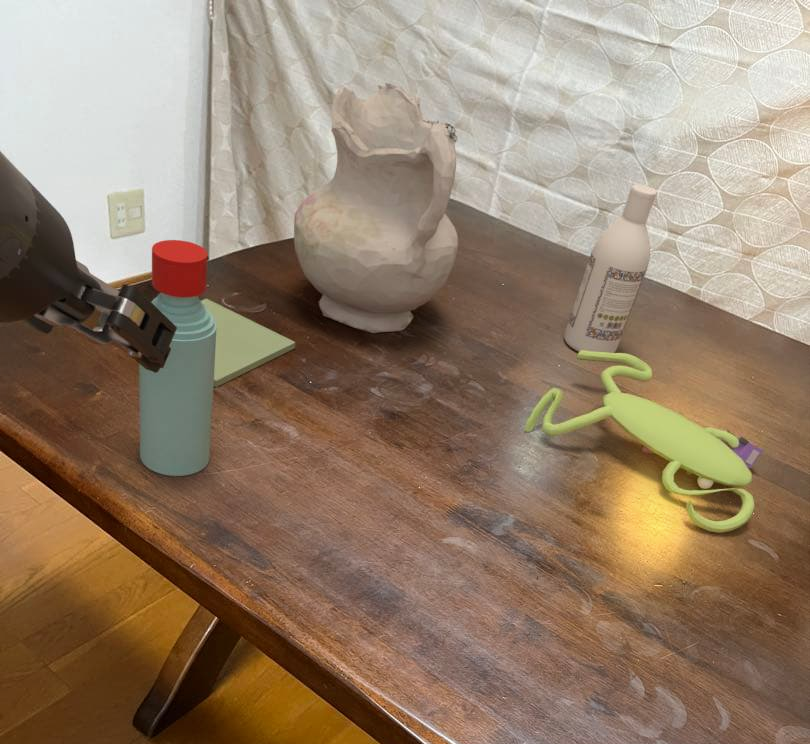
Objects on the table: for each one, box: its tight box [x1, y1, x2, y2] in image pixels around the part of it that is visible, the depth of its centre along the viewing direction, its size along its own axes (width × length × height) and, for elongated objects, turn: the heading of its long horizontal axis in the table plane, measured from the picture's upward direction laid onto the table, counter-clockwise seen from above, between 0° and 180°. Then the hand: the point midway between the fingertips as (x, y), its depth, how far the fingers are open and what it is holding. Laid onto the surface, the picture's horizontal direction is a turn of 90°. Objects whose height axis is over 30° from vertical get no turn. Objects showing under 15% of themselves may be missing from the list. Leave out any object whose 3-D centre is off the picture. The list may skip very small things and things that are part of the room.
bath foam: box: [563, 184, 657, 353], centre depth 105 cm, size 7×7×20 cm
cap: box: [151, 239, 208, 297], centre depth 66 cm, size 4×4×3 cm
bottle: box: [138, 292, 217, 477], centre depth 71 cm, size 6×6×18 cm
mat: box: [123, 298, 296, 388], centre depth 93 cm, size 13×13×1 cm
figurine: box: [524, 350, 764, 534], centre depth 92 cm, size 18×27×6 cm
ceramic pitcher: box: [293, 82, 459, 334], centre depth 99 cm, size 22×20×25 cm
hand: (104, 338), depth 60 cm, fingers open, 8 cm apart
